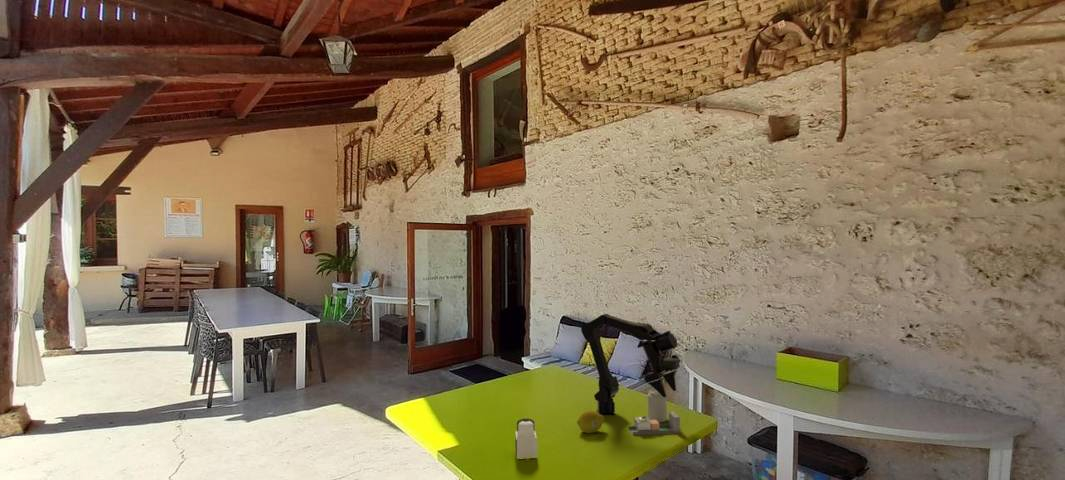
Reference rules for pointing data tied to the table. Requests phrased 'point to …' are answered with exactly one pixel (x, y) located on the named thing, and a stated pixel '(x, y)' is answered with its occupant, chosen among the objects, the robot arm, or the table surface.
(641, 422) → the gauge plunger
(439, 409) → the table surface
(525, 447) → the medicine bottle
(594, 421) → the lemon
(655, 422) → the block
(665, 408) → the can
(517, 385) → the table surface
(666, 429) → the gauge bench
